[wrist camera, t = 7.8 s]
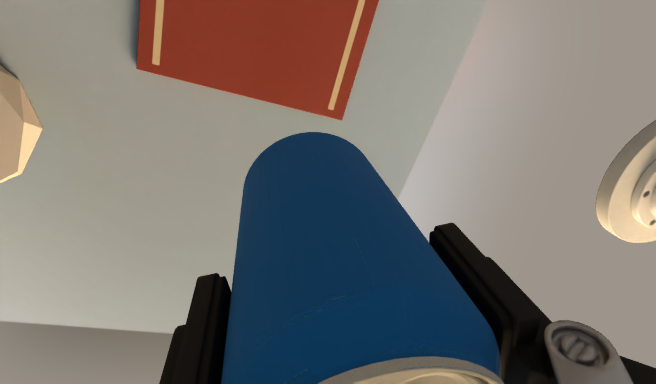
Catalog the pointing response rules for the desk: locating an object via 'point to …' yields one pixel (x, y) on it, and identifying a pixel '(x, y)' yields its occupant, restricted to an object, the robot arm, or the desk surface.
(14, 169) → the table lamp
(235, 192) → the desk surface
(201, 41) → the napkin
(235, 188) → the desk surface
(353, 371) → the beverage can
